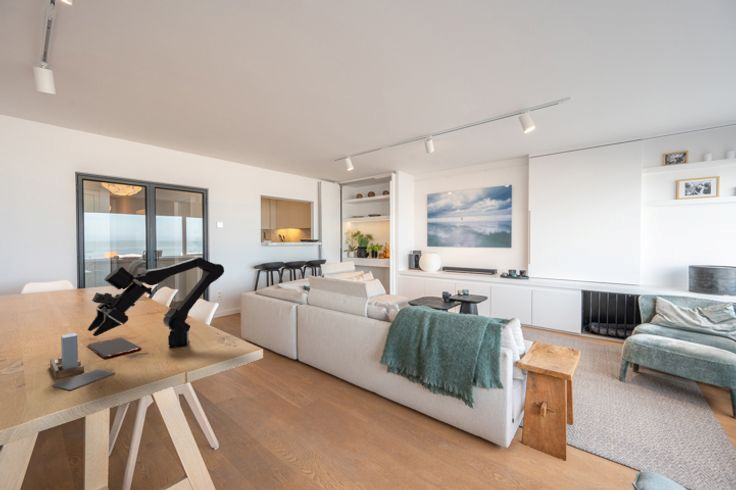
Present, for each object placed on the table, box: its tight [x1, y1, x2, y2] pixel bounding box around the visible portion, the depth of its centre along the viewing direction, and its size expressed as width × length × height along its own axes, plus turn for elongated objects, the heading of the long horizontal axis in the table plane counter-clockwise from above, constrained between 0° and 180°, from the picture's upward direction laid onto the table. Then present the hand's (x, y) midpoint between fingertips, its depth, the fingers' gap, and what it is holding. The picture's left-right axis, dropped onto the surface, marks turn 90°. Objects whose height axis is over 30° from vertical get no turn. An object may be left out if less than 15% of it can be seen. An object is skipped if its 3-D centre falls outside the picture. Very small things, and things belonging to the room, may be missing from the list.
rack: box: [49, 358, 85, 380], centre depth 107 cm, size 7×15×2 cm, turn 51°
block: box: [60, 332, 79, 370], centre depth 105 cm, size 4×4×12 cm
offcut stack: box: [54, 355, 80, 366], centre depth 110 cm, size 6×4×3 cm, turn 141°
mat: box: [51, 368, 116, 391], centre depth 99 cm, size 12×9×1 cm
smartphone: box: [86, 337, 142, 360], centre depth 127 cm, size 12×2×25 cm
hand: (91, 333), depth 109 cm, fingers open, 9 cm apart
